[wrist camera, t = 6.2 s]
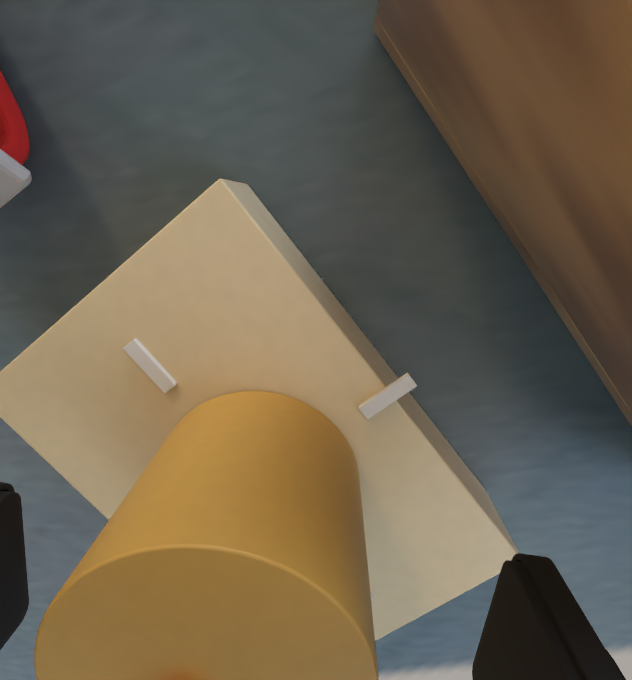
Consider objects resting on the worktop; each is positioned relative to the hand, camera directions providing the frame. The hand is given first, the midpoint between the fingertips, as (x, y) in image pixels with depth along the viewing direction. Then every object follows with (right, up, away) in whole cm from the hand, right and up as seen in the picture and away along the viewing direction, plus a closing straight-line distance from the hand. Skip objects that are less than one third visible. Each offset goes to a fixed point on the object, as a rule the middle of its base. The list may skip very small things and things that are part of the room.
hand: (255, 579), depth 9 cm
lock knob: (0, +1, +3) cm, 3 cm away
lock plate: (0, +2, +5) cm, 6 cm away
